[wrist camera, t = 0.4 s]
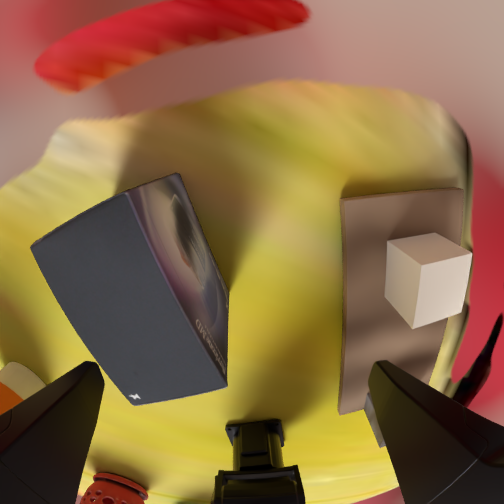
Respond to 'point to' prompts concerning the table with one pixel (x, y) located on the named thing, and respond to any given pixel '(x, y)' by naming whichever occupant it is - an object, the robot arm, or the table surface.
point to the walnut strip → (373, 289)
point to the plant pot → (113, 491)
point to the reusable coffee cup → (17, 385)
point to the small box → (143, 292)
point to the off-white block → (426, 278)
